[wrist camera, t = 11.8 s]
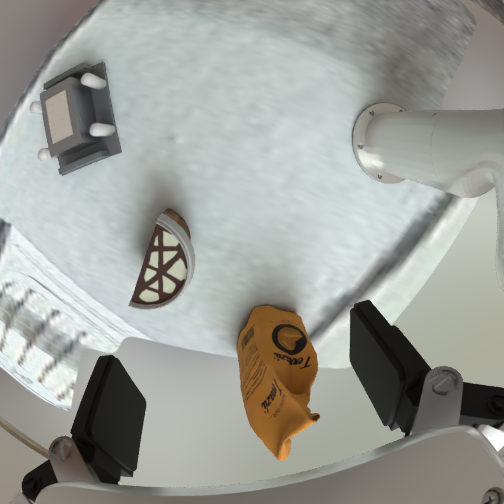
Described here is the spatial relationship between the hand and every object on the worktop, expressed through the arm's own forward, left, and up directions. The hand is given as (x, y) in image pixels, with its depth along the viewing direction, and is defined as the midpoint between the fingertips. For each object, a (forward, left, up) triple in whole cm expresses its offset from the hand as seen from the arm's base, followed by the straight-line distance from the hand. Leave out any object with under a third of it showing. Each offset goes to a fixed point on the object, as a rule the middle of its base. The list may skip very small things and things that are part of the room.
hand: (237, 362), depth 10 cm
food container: (+8, +5, -31) cm, 32 cm away
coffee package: (-2, +24, -31) cm, 39 cm away
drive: (+17, -17, -30) cm, 38 cm away
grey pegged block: (+17, -17, -30) cm, 39 cm away
